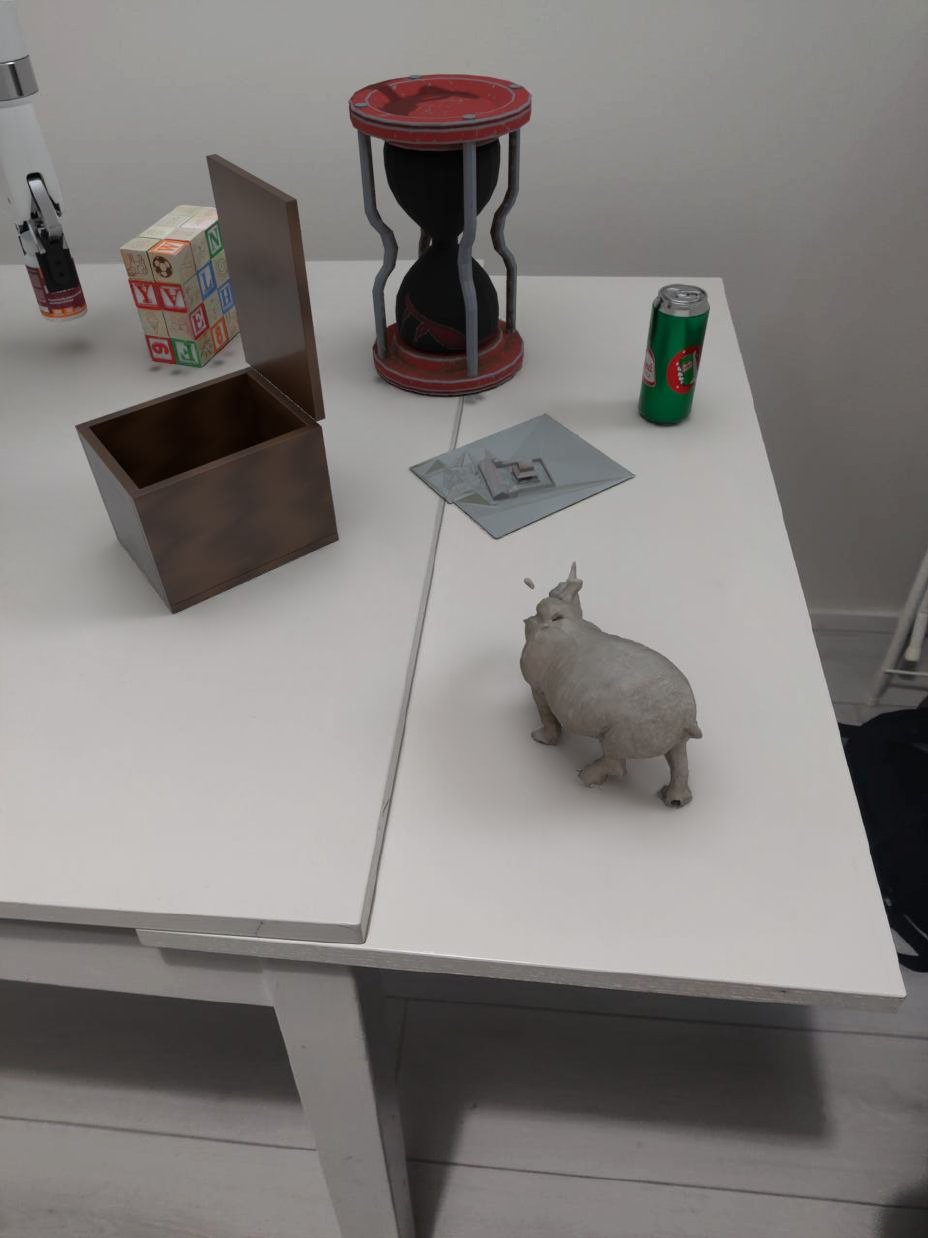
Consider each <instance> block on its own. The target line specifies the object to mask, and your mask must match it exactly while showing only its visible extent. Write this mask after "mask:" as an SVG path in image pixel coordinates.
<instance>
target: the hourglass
mask: <svg viewBox="0 0 928 1238" xmlns="http://www.w3.org/2000/svg"><path fill="white" fill-rule="evenodd" d="M532 97H533V94H532V93H531V92H530V91H529V90H528V89H527V88H526V87H525V86H523V85H522V84H518V83H516V82H513V81H510V80H506V79H502V78H497V77H493V76H488V75H487V76H486V75H476V74H466V73H465V74H464V73H434V74H411V75H408V76H404V77H403V76H402V77H397V78H390V79H386V80H382V81H379V82H375V83H372V84H368V85H366V86H364V87H362V88H360V89H358V90H356V91H354V93H353V94H352V96H351V97H350V98H349V99H348V101H347V102H348V113H349V120H350V122H351V125H352V128H354V129H356V131H357V143H358V152H359V153H358V154H359V163H360V164H359V165H360V176H361V185H362V197H363V207H364V214H365V216H366V218H367V220H368V223H369V225H370V226H371V227H372V228H373V229H374V230H375V232H377V233H378V234H379V236H380V239H381V242H382V246H383V247H382V248H383V250H384V253H383V262H382V265H381V267H380V269H379V270H378V272H377V274H376V275H375V278H374V282H373V286H372V290H371V294H372V303H373V313H374V315H373V316H374V323H375V336H376V337H375V340H374V342H373V345H372V347H371V348H372V357H373V362H374V366H375V370H376V372H377V373H378V374H379V375H380V376H381V377H382V378H383V379H384V380H385V381H386V382H387V383H390V384H391V385H394V386H396V387H398V388H400V389H402V390H404V389H405V390H404V391H408V390H409V392H413V391H414V392H413V393H417V392H418V393H417V394H421V395H426V394H430V395H429V396H448V395H452V396H459V395H468V394H476V393H479V392H482V391H486V390H489V389H492V388H495V387H498V386H499V385H501V384H503V383H504V382H507V381H508V380H510V379H512V378H513V377H514V376H515V375H516V374H517V372H518V371H519V370H520V368H522V366H523V362H524V355H525V353H524V352H525V341H524V339H523V337H522V336H521V334H520V332H519V330H517V327H516V325H517V290H518V289H517V288H518V264H517V261H516V257H515V255H514V254H513V252H512V251H511V250H510V249H509V248H508V246H507V244H506V240H505V239H506V238H505V232H504V230H505V225H506V219H507V216H508V215H509V213H510V212H511V210H512V209H513V207H514V206H515V205H516V201H517V198H518V195H519V192H520V168H521V167H520V163H521V162H520V161H521V128H523V127H524V126H525V125H527V124H528V123H530V120H531V116H532V103H533V101H532V100H533V99H532ZM505 135H508V153H507V155H508V156H507V158H508V159H507V188H506V191H505V194H504V197H503V199H502V202H501V204H500V205H499V206H498V208H497V209H496V210H495V212H494V213H493V217H492V220H491V226H490V230H489V235H490V238H491V242H492V247H493V250H494V251H495V252H496V253H497V254H498V255H499V256H500V257H501V259H502V260H503V265H504V266H505V268H506V285H505V291H506V292H505V320H502V319H500V304H499V298H498V297H499V295H498V292H497V290H496V287H495V285H494V283H493V281H492V279H491V277H490V275H489V274H488V272H487V271H486V270H485V269H484V267H482V265H481V264H480V262H478V260H476V259H475V258H474V256H473V246H474V243H475V241H476V236H477V228H478V227H477V226H478V221H477V219H478V218H477V217H478V216H479V215H480V214H481V213H482V212H483V210H484V209H485V208H486V206H487V205H488V204H489V202H490V201H491V199H492V196H493V195H494V192H495V190H496V187H497V185H498V181H499V175H500V170H501V169H500V168H501V142H500V137H502V136H505ZM371 137H372V138H376V139H378V140H382V141H383V148H382V152H383V153H382V155H383V166H384V171H385V176H386V181H387V185H388V187H389V190H390V192H391V193H392V195H393V197H394V199H395V201H396V202H397V204H398V206H400V208H401V209H402V210H403V212H404V213H405V214H406V215H407V216H408V217H409V218H410V219H411V220H412V221H413V222H414V223H415V224H416V225H417V226H418V227H419V228H420V235H419V240H418V247H417V248H418V251H417V260H416V261H415V262H414V263H413V264H412V265H411V267H410V268H409V269H408V270H407V272H406V273H405V275H404V276H403V278H402V281H401V283H400V286H399V288H398V290H397V293H396V295H395V307H394V308H395V310H394V313H395V322H394V323H392V324H390V325H388V326H387V315H386V302H385V292H384V291H385V287H386V285H387V281H388V279H389V277H390V276H391V274H392V273H393V272H394V270H395V268H396V266H397V265H396V264H397V259H398V253H399V245H398V242H397V238H396V237H395V233H394V230H393V229H391V227H389V226H388V225H387V224H386V223H385V222H384V221H383V219H382V216H381V214H380V212H379V210H378V206H377V196H376V184H375V183H376V182H375V174H374V173H375V172H374V161H373V148H372V138H371ZM461 234H462V237H461V239H460V241H459V236H460V235H461Z"/></svg>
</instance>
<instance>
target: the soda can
mask: <svg viewBox="0 0 928 1238" xmlns="http://www.w3.org/2000/svg"><path fill="white" fill-rule="evenodd" d="M708 298H709V295H708V292H707V290H705V288H702V287H700V286H697V285H694V284H688V283H671V284H667V285H664V286H661V288H659V290H658V291H657V296H656V297H655V298H654V299H653V301H652V303H651V311H650V316H649V324H648V332H647V339H646V345H645V346H646V347H645V354H644V361H643V368H642V369H643V370H642V375H641V384H640V391H639V398H638V405H637V406H638V407H637V408H638V411H639V412H640V414H641V416H643V417H644V418H645V419H646V420H648V421H650V422H652V423H655V424H657V425H658V424H659V425H674V424H678V423H681V422H682V421H684V420H685V419H687V417H689V416H690V415H691V413H692V409H693V404H694V397H695V392H696V387H697V380H698V376H699V370H700V365H701V359H702V354H703V348H704V343H705V337H706V333H707V327H708V322H709V318H710V317H709V316H710V311H711V305H710V303H709V301H708V300H709V299H708Z"/></svg>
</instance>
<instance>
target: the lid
mask: <svg viewBox="0 0 928 1238" xmlns="http://www.w3.org/2000/svg"><path fill="white" fill-rule="evenodd" d="M205 158H206V163H207V168H208V169H207V170H208V175H209V180H210V184H211V190H212V195H213V199H214V206H215V207H216V211H217V216H218V221H219V226H220V231H221V237H222V242H223V247H224V252H225V257H226V262H227V268H228V273H229V278H230V283H231V288H232V294H233V299H234V304H235V309H236V314H237V319H238V325H239V330H240V331H239V335H240V341H241V345H242V351H243V354H244V355H243V356H244V361H245V363H246V364H247V365H249V367H250V366H251V367H252V368H254V369H255V370H256V371H257V372H258V373H259V374H261V375H262V376H263V377H264V378H265V379H266V380H268V381H269V382H270V383H271V384H272V385H274V386H275V387H276V388H277V389H278V390H280V391H281V392H282V393H283V394H284V395H285V396H287V397H288V398H289V399H290V400H291V401H293V402H294V403H295V404H296V405H297V406H298V407H300V408H301V409H302V410H303V411H304V412H306V413H307V414H308V415H309V416H310V417H311V418H313V419H314V420H315V421H316V422H320V421H323V420H325V419H326V411H325V403H324V396H323V389H322V380H321V373H320V365H319V357H318V351H317V343H316V335H315V327H314V320H313V312H312V303H311V297H310V291H309V290H310V289H309V281H308V274H307V265H306V259H305V250H304V244H303V242H304V241H303V236H302V229H301V227H302V226H301V220H300V213H299V206H298V199H297V198H295V197H293V196H292V195H290V194H288V193H286V192H284V191H283V190H282V189H279V188H277V187H275V186H274V185H272V184H270V183H269V182H267V181H265V180H264V179H261V178H259V177H258V176H256V175H255V174H253V173H250V172H249V171H248V170H245V169H244V168H243V167H240V166H238V165H236V164H235V163H233V162H231V161H230V160H228V159H226V158H224V157H223V156H220V155H219V154H217V153H213V154H208V155H206V156H205Z"/></svg>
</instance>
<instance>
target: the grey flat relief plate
mask: <svg viewBox="0 0 928 1238" xmlns="http://www.w3.org/2000/svg"><path fill="white" fill-rule="evenodd" d="M408 469H410V470H411V471H412V472H413V473H414V474H416V475H417V476H418V477H419V478H420V479H421V480H423V482H424V483H425V484H427V485H428V486H429V487H430V488H432V489H433V490H434V491H435V492H436V493H437V494H438V495H439V496H440V497H442V498H444V499H445V500H446V501H447V503H448V504H452V503H455V505H456V506H458V507H459V508H460V509H462V510H463V511H464V512H465V513H466V514H467V515H468V516H470V517H471V518H472V519H473V520H474V521H475V522H476V523H477V524H479V525H480V526H481V527H482V528H483V529H484V530H485V531H487V532H488V533H489V534H490V535H491V536H492V537H493V538H495V539H498V538H501V537H504V536H505V535H507V534H509V533H511V532H514V531H516V530H518V529H521V528H523V527H525V526H527V525H529V524H532V523H535V522H536V521H538V520H540V519H543V518H544V517H547V516H550V515H551V514H553V513H556V512H558V511H560V510H562V509H564V508H565V509H566V508H567V507H570V506H572V505H573V504H575V503H578V502H580V501H583V500H584V499H586V498H589V497H591V496H593V495H595V494H598V493H600V492H602V491H605V490H606V489H608V488H611V487H613V486H615V485H617V484H620V483H622V482H624V481H627V480H628V479H630V478H633V477H635V476H636V474H635V473H633V472H631V471H630V470H629V469H627V468H626V467H624V466H623V465H621V464H620V463H619V462H617V461H616V460H614V459H612V458H611V457H610V456H608V455H607V454H606V453H604V452H602V451H601V450H600V449H598V448H597V447H595V446H594V445H592V444H591V443H589V442H588V441H587V440H585V439H583V438H582V437H581V436H580V435H578V434H577V433H575V432H574V431H572V430H570V428H568V427H566V426H565V425H564V424H562V423H561V422H559V421H557V419H554V418H553V417H552V416H550V414H547V413H544V414H541V415H538V416H535V417H532V418H530V419H528V420H525V421H524V422H520V423H518V424H515V425H513V426H510V427H507V428H505V429H503V430H500V431H497V432H495V433H492V434H489V435H487V436H485V437H482V438H480V439H477V440H475V441H472V442H469V443H466V444H465V445H462V446H459V447H457V448H455V449H452V450H449V451H447V452H444V453H442V454H439V455H437V456H434V457H432V458H430V459H427V460H424V461H422V462H418V463H416V464H413V465H411V466H409V467H408ZM423 616H424V613H423Z"/></svg>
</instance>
